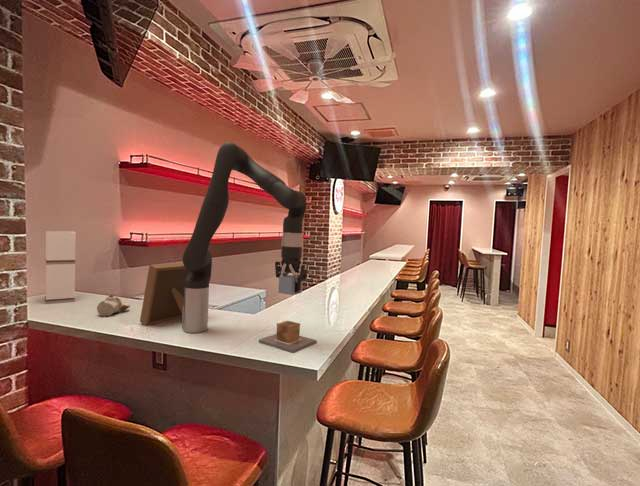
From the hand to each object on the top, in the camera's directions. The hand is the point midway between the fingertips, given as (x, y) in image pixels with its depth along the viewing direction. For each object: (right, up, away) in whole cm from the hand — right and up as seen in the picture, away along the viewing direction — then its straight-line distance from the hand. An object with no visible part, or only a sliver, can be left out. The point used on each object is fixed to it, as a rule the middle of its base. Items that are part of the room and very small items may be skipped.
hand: (289, 290), depth 127 cm
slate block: (0, -1, 0) cm, 1 cm away
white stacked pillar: (-121, -12, +48) cm, 131 cm away
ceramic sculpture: (-83, -15, +29) cm, 90 cm away
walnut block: (-1, -18, +1) cm, 18 cm away
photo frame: (-51, -16, +21) cm, 58 cm away
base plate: (-1, -19, +1) cm, 19 cm away
